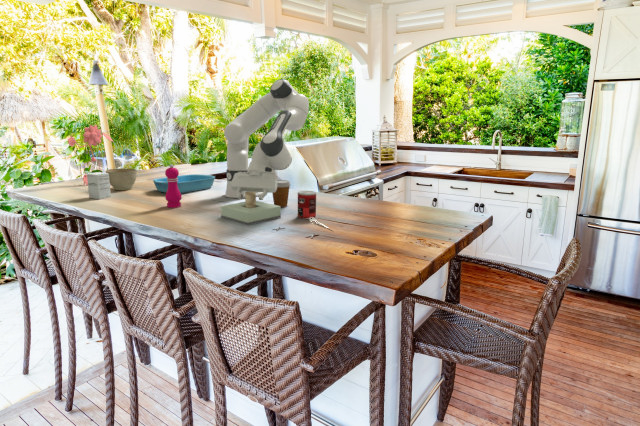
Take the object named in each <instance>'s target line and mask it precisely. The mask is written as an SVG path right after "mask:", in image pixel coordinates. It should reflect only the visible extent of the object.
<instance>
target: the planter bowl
mask: <svg viewBox="0 0 640 426" xmlns="http://www.w3.org/2000/svg"><path fill="white" fill-rule="evenodd" d="M137 172H138V170H137V169H136V168H110V169H109V168H108V169H106V170H105V173H109V182H110V186H112V188H113V190H115V191H126V190H127V191H128V190H133V189H132V188H133V185H134V184H135V182H136V180H137V177H138V176H137V175H138V174H137Z"/></svg>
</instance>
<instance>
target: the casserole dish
mask: <svg viewBox="0 0 640 426" xmlns="http://www.w3.org/2000/svg"><path fill="white" fill-rule="evenodd" d="M177 178H178V181H177V186H178V189H179V191H180V193H181V194H185V193H192V192H198V191H202V190H203V189H204V190H208V189H211V188H212V186H213V185H214V182H215V179H216V176H215V175H210V174H199V173H198V174H196V173H195V174H193V173H192V174H182V175H178V177H177ZM152 182H153V184H154V186H155V188H156V190H157V191H159V192H161V193H165V194H166V192H167V190H168V181H167V176H165V177H159V178H154V179H152Z"/></svg>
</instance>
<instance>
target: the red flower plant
mask: <svg viewBox="0 0 640 426" xmlns="http://www.w3.org/2000/svg"><path fill="white" fill-rule="evenodd" d="M83 130H84V133H83V135H82V136H83V142H84V143H86V144H84V145H82V146H80V144H78V143H77V141H76V139H75V137H73V136H70V137H69V138H68V139H67V143H68V145H69V146H70V147H71V148H73V147H74V146H75V145H77V146H78V148H83V147H86V146H89V148H90V152H91V154H92V157H91V158H90V161H88V162H86V163H83V169H84V175H83V176H82V181H83V185H86V186H87V187H88V181H87V173H86V167H85V165H87V164H88V163H90V162H92V163H95V162H97V163H98V167H99V168H98V169H99V170H101V164H100V161H97V159H96V157H95V156H94V153H93V149H92V147H96V146H99V144H101V143H102V137H103V136H104V137H105V138H106V139H107V140H108V141H111V142H113V143H114V140H113V138H111V136H109V135H108V134H107V133H105V132H102V129H101V128H99V129H98V125H96V124H94V125H90V124H89V126H88V127H84V129H83ZM73 186H75V184H74V185H73Z"/></svg>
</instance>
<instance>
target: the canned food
mask: <svg viewBox="0 0 640 426" xmlns="http://www.w3.org/2000/svg"><path fill="white" fill-rule="evenodd" d="M316 215H317V191H314V190H300V191H298V192H297V217H298V218H299V217H300V218H299V219H302V218H310V217H311V218H313V217H315V218H316ZM313 219H314V218H313Z"/></svg>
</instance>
